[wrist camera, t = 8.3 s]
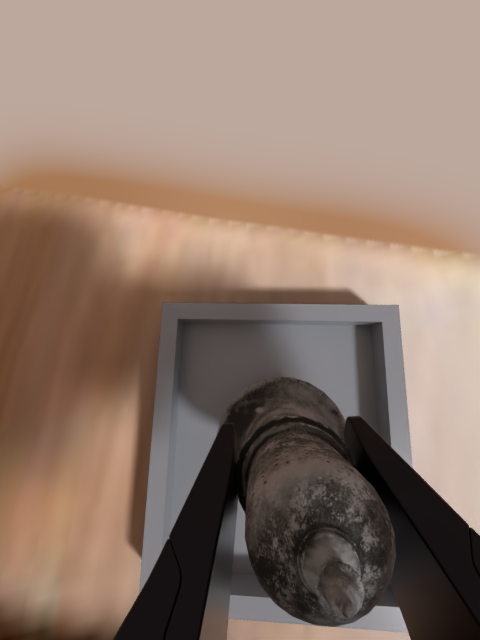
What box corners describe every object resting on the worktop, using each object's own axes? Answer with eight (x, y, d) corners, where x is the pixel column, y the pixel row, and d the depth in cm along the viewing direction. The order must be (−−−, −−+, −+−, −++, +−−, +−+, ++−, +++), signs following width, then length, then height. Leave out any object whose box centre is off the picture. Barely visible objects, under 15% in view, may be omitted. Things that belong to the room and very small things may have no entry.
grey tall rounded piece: (338, 481, 15) (684, 931, 3) (229, 491, 15) (130, 947, 3) (320, 370, 16) (514, 362, 4) (220, 380, 16) (124, 401, 4)
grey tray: (399, 592, 15) (426, 634, 13) (155, 574, 16) (137, 611, 14) (379, 314, 18) (398, 305, 16) (174, 311, 19) (162, 302, 17)
